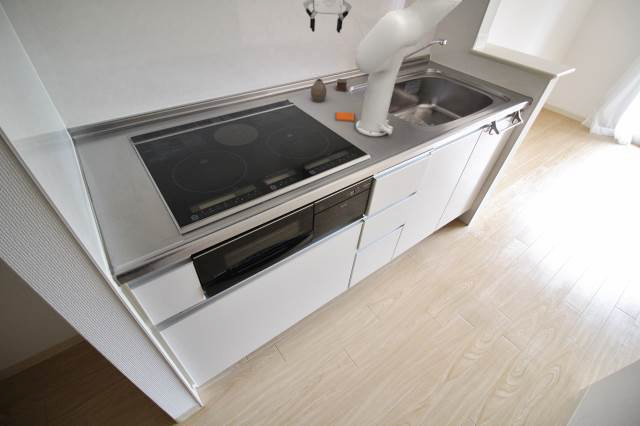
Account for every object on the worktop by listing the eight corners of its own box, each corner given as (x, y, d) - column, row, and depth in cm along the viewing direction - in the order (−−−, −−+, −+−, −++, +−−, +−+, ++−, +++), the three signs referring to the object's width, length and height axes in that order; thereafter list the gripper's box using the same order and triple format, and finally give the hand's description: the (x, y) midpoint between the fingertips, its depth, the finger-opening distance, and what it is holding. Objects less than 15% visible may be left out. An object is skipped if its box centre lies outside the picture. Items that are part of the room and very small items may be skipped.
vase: (325, 103, 126) (327, 83, 120) (310, 102, 126) (310, 82, 120) (326, 97, 131) (327, 77, 125) (310, 96, 131) (311, 76, 125)
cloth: (353, 114, 120) (353, 113, 119) (354, 121, 115) (354, 119, 115) (336, 113, 120) (336, 111, 119) (336, 120, 115) (336, 118, 115)
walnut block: (345, 87, 140) (346, 79, 138) (345, 91, 137) (346, 82, 135) (336, 87, 140) (337, 78, 138) (336, 90, 137) (337, 82, 135)
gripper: (305, -29, 91) (303, 33, 103) (357, -25, 94) (350, 35, 106) (302, -32, 97) (301, 27, 109) (352, -28, 99) (345, 29, 111)
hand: (325, 31), depth 107 cm, fingers open, 9 cm apart
